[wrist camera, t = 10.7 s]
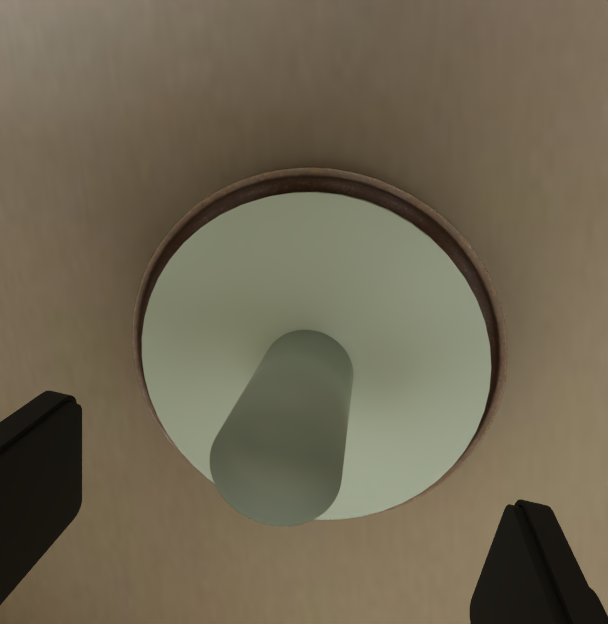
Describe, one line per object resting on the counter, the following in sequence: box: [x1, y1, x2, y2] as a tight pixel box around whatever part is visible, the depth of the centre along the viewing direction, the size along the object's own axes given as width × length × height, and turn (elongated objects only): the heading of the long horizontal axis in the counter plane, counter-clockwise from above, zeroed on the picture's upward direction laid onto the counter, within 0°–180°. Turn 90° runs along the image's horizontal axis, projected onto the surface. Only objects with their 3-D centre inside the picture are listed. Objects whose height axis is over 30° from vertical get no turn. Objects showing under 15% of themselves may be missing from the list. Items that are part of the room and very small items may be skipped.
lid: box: [142, 192, 491, 526], centre depth 15 cm, size 13×13×7 cm
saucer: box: [132, 167, 507, 516], centre depth 20 cm, size 15×15×3 cm
